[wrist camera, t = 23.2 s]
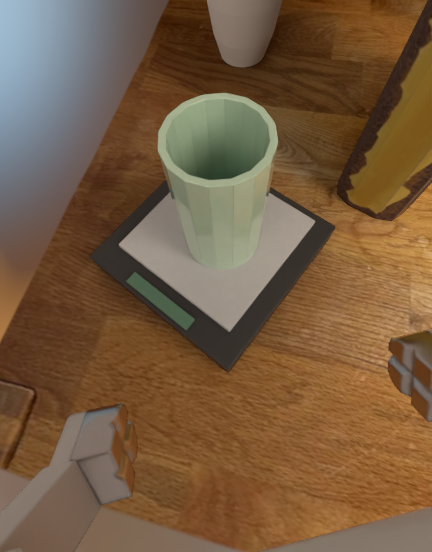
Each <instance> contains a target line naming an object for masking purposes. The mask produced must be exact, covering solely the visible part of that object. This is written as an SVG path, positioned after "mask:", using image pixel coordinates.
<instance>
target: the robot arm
mask: <svg viewBox="0 0 432 552" xmlns="http://www.w3.org/2000/svg"><path fill="white" fill-rule="evenodd" d="M389 351H390V352H391V353H392V354H393V355H392V357H391V358H390V360H389V361H388V372H389V375H390V378H391V380H392V382H393V383H394V385H395V386H396V388H397V389H398V390H399V391H400V392H401V393H403V394H405V395H408V396H410V397H411V404H412V405H413V406H414V408H415V409H416V410H417V411H418V412H419V413H420V414H421V415H422V416H423V417H424V418H425V420H426V421H427V422H432V328H431V329H427V330H423V331H420V332H416V333H412V334H408V335H404V336H400V337H396V338H392V339H391V340H390V342H389ZM127 418H128V411H127V408H126V406H125V404H123V403H120V404H115V405H111V406H106V407H101V408H97V409H92V410H88V411H84V412H80V413H75V414H71V415H70V416H69V417H68V418H67V421H66V423H65V426H64V428H63V431H62V434H61V436H60V439H59V441H58V444H57V447H56V449H55V452H54V454H53V457H52V460H51V462H50V465H49V467H45V468H43V469H42V470H41V471H40V472H39V473H38V474H37V475H36V476H35V477H34V478H33V479H32V480H31V481H30V482H29V483H28V485H27V486H26V487H25V488H24V489H23V490H22V491H21V492H20V493H19V494H18V495H17V496H16V497H15V498H14V499H13V500H12V501H11V502H10V503H9V504H8V505H7V506H6V507H5V508H4V509H3V510H2V511H1V513H0V552H74V551H75V550H76V548H77V547H78V545H79V543H80V542H81V540H82V538H83V537H84V535H85V533H86V532H87V530H88V528H89V527H90V525H91V523H92V522H93V520H94V518H95V517H96V515H97V513H98V512H99V510H100V508H101V505H104V504H108V503H111V502H115V501H118V500H122V499H125V498H129V497H132V494H133V486H134V478H135V471H134V469H133V466H132V463H133V462H134V461H135V459H136V458H137V450H138V445H137V435H136V431H135V428H134V425H133V423H131V422H130V421H128V420H127ZM259 552H432V506H430V507H426V508H423V509H419V510H415V511H411V512H407V513H404V514H400V515H396V516H392V517H388V518H384V519H381V520H377V521H373V522H369V523H365V524H362V525H358V526H354V527H350V528H346V529H343V530H339V531H335V532H331V533H327V534H324V535H320V536H316V537H312V538H309V539H305V540H301V541H297V542H293V543H290V544H286V545H282V546H278V547H274V548H271V549H267V550H263V551H259Z"/></svg>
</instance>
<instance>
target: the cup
mask: <svg viewBox="0 0 432 552" xmlns="http://www.w3.org/2000/svg"><path fill="white" fill-rule="evenodd" d="M281 3H282V0H207V4H208V9H209V14H210V19H211V23H212V28H213V33H214V36H215V39H216V42H217V45H218V48H219V51H220V54H221V56H222V59H223V60H224V61H225V62H226V63H227V64H229V65H231V66H234V67H250V66H253V65H255V64H257V63H259V62H260V61H261V60H262V59H263V57H264V55H265V52H266V50H267V47H268V45H269V43H270V40H271V38H272V35H273V33H274V29H275V25H276V22H277V18H278V14H279V11H280V7H281Z"/></svg>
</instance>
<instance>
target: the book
mask: <svg viewBox="0 0 432 552" xmlns="http://www.w3.org/2000/svg"><path fill="white" fill-rule="evenodd" d="M431 183H432V0H428V1H427V3H426V5H425V7H424V9H423V11H422V13H421V15H420V17H419V19H418V21H417V23H416V25H415V27H414V29H413V31H412V33H411V35H410V37H409V39H408V41H407V43H406V45H405V47H404V50H403V52H402V54H401V56H400V58H399V60H398V62H397V64H396V66H395V68H394V70H393V72H392V74H391V76H390V78H389V80H388V82H387V84H386V86H385V88H384V90H383V92H382V94H381V96H380V98H379V100H378V102H377V104H376V106H375V108H374V110H373V112H372V114H371V116H370V118H369V120H368V122H367V124H366V126H365V128H364V130H363V132H362V134H361V136H360V138H359V140H358V142H357V144H356V146H355V148H354V150H353V152H352V154H351V156H350V158H349V160H348V162H347V164H346V166H345V168H344V171H343V173H342V175H341V177H340V179H339V181H338V189H337V194H338V195H339V196H340V197H341V198H342V199H343V200H344V201H345V202H346V203H347V204H348V205H350V206H352V207H354V208H356V209H358V210H360V211H362V212H364V213H366V214H368V215H370V216H371V217H373V218H377V219H383V220H389V221H392V220H393V219H395V218H397V217H398V216H400V215H401V214H403V213H404V212H405V211H406V210H407V209H408V208H409V207H410V205H411V204H412V203H413V202H414V201H415V200H416V199H417V198H418V197H419V196H420V195H421V194H422V193H423V192H424V190H425V189H426V188H427V187H428V186H429V185H430V184H431Z"/></svg>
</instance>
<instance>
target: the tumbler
mask: <svg viewBox="0 0 432 552" xmlns="http://www.w3.org/2000/svg"><path fill="white" fill-rule="evenodd" d="M277 147H278V136H277V130H276V124H275V122H274V121H273V119H272V118H271V117H270V115H269V114H268V113H267V111H266V110H265V108H263V107H262V106H260V105H258V104H257V103H255V102H253V101H252V100H250V99H248V98H246V97H243V96H238V95H233V94H229V93H216V94H204V95H200V96H198V97H195V98H193V99H190V100H188V101H185V102H183V103H181V104H180V105H179V106H178V107H177V108H175V109H174V110H173V111H172V112H170V113H169V114H168V115H167V116H166V118H165V120H164V122H163V124H162V126H161V128H160V130H159V131H158V153H159V157H160V160H161V164H162V167H163V170H164V174H165V177H166V180H167V184H168V187H169V190H170V194H171V197H172V201H173V204H174V207H175V211H176V214H177V217H178V221H179V224H180V228H181V231H182V234H183V238H184V241H185V243H186V246H187V248H188V250H189V252H190V254H191V255H192V256H193V258H194V259H195V260H196V261H198V262H199V263H201V264H202V265H204V266H206V267H209V268H213V269H219V270H225V269H231V268H235V267H238V266H240V265H242V264H244V263H245V262H247V261H248V260H249V259H250V258H251V257H252V256H253V255H254V253H255V252H256V250H257V248H258V245H259V241H260V238H261V234H262V228H263V223H264V217H265V212H266V206H267V201H268V196H269V190H270V185H271V179H272V174H273V168H274V163H275V158H276V152H277Z"/></svg>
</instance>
